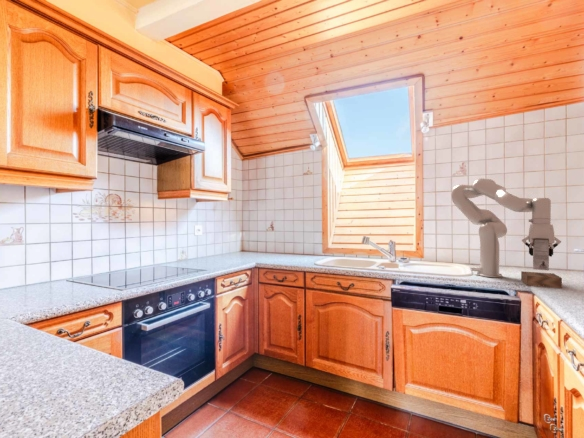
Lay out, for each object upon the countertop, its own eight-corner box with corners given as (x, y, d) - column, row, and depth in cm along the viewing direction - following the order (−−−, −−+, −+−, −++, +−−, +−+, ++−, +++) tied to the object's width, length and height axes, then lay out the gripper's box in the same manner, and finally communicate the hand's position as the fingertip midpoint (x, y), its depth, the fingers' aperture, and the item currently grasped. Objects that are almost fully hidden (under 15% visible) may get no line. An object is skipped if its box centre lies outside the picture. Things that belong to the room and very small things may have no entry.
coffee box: (532, 266, 166) (533, 237, 165) (548, 268, 162) (548, 237, 162) (533, 269, 158) (533, 238, 158) (549, 270, 155) (549, 238, 154)
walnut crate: (526, 285, 158) (526, 275, 158) (521, 280, 169) (521, 271, 169) (561, 288, 151) (561, 278, 151) (553, 282, 163) (553, 273, 163)
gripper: (522, 221, 160) (521, 255, 161) (565, 222, 152) (564, 257, 153) (519, 221, 167) (518, 254, 167) (560, 221, 159) (559, 255, 159)
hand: (540, 255), depth 160 cm, fingers closed on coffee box, 7 cm apart
